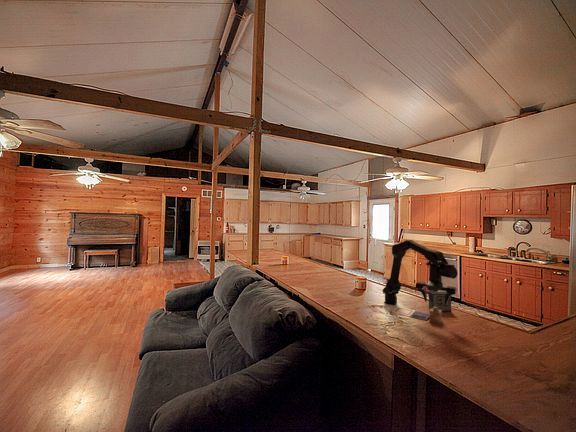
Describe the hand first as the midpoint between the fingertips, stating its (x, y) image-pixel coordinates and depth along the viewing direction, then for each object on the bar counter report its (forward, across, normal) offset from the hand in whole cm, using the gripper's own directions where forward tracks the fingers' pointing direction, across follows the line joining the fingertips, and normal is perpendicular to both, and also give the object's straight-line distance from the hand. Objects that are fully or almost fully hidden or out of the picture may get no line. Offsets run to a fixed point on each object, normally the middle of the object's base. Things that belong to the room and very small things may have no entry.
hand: (435, 303), depth 139 cm
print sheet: (+10, -17, +4) cm, 20 cm away
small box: (+10, -2, +22) cm, 24 cm away
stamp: (+10, 0, 0) cm, 10 cm away
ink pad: (+10, -8, +2) cm, 13 cm away
